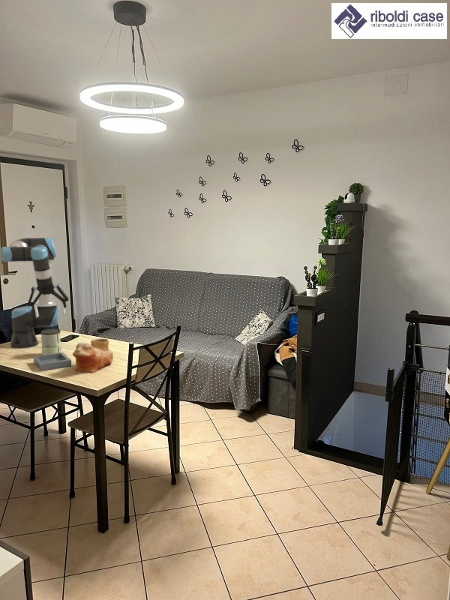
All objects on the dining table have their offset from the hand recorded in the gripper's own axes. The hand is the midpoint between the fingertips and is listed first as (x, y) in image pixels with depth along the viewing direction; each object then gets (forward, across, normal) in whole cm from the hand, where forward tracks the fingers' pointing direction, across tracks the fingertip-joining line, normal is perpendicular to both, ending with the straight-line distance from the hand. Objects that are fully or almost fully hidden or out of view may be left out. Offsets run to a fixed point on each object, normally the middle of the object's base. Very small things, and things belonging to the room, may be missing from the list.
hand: (51, 315), depth 235 cm
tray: (+23, -2, -12) cm, 26 cm away
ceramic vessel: (+24, +19, -20) cm, 37 cm away
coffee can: (+27, -5, +6) cm, 29 cm away
